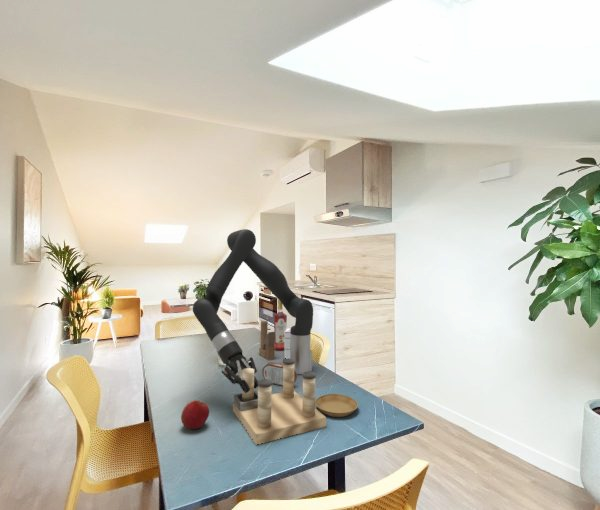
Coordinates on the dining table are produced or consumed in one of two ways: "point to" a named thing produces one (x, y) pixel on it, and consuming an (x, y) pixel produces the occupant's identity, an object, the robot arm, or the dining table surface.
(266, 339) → the wooden block
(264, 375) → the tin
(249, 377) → the birch leg
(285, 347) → the syrup box
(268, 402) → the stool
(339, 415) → the plant saucer
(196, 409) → the apple
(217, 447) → the dining table surface
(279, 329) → the liquor
